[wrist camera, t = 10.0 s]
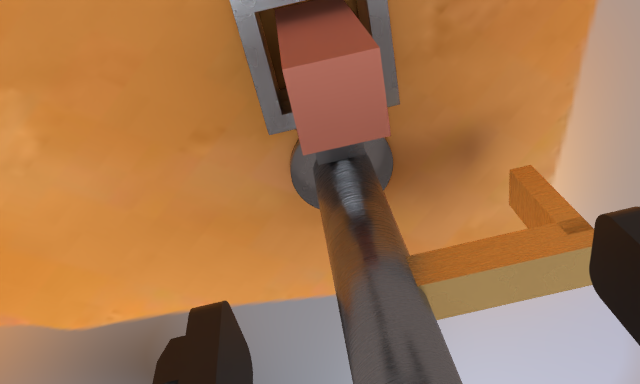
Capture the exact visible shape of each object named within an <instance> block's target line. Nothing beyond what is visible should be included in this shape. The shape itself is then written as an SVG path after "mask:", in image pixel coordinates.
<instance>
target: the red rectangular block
mask: <svg viewBox="0 0 640 384" xmlns="http://www.w3.org/2000/svg"><path fill="white" fill-rule="evenodd" d="M275 17H276V25H277V33H278V41H279V49H280V57H281V64H282V71H283V75H284V79H285V83H286V87H287V92H288V96H289V100H290V104H291V108H292V112H293V116H294V120H295V124H296V128H297V133H298V137H299V141H300V145H301V149H302V153H303V155H308V154H312V153H317V152H321V151H326V150H330V149H334V148H339V147H343V146H348V145H352V144H357V143H361V142H366V141H370V140H375V139H379V138H383V137H388V136H391V133H390V125H389V117H388V109H387V101H386V93H385V86H384V78H383V70H382V62H381V54H380V47H379V46H378V45H377V43H376V42H375V41H374V39H373V38H372V37H371V35H370V34H369V33H368V31H367V30H366V29H365V27H364V26H363V25H362V24H361V22H360V21H359V20H358V18H357V17H356V16H355V14H354V13H353V12H352V10H351V9H350V8H349V6H348V5H347V4H346V2H345V1H344V0H312V1H308V2H303V3H299V4H295V5H290V6H286V7H282V8H277V9H275Z"/></svg>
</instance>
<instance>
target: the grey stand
mask: <svg viewBox="0 0 640 384" xmlns="http://www.w3.org/2000/svg"><path fill="white" fill-rule="evenodd" d="M300 1H304V0H230V3H231V7H232V10H233V14H234V17H235V20H236V24H237V27H238V31H239V34H240V38H241V41H242V44H243V48H244V51H245V55H246V58H247V61H248V65H249V68H250V72H251V75H252V79H253V82H254V85H255V89H256V92H257V96H258V99H259V102H260V106H261V109H262V113H263V116H264V120H265V123H266V126H267V130H268V133H269V135H272V134H276V133H280V132H284V131H289V130H293V129H297V128H296V124H295V120H294V116H293V112H292V108H291V104H290V100H289V96H288V92H287V88H285V89H281V90H279V87H278V83H277V79H276V75H275V72H274V68H273V64H272V60H271V56H270V53H269V49H268V45H267V41H266V38H265V34H264V30H263V26H262V22H261V19H260V15H259V11H262V10H267V9H271V8H275V7H279V6H283V5H287V4H291V3H296V2H300ZM356 4H357V10H358V16H359V21H360V22H361V24H362V25H363V26H364V27H365V29H366V30H367V31H368V33H369V34H370V35H371V37H372V38H373V39H374V41H375V42H376V43H377V45H378V46H379V47H380V54H381V62H382V70H383V78H384V86H385V93H386V101H387V107H390V106H395V105H399V104H400V100H399V92H398V84H397V75H396V67H395V59H394V51H393V43H392V35H391V27H390V18H389V10H388V2H387V0H356ZM290 170H291V177H292V182H293V185H294V187H295V189H296V191H297V192H298V194H299V195H300V196H301V197H302V198H303V199H304V200H305V201H306V202H307V203H308V204H310V205H312V206H314V207H316V208H318V209H320V212H321V217H322V222H323V228H324V233H325V238H326V243H327V249H328V254H329V259H330V264H331V270H332V275H333V280H334V286H335V291H336V296H337V301H338V307H339V312H340V317H341V322H342V328H343V333H344V338H345V343H346V348H347V354H348V359H349V364H350V370H351V375H352V380H353V384H462V381H461V379H460V377H459V374H458V372H457V370H456V367H455V364H454V362H453V360H452V357H451V355H450V353H449V350H448V348H447V345H446V343H445V340H444V338H443V335H442V333H441V330H440V328H439V326H438V323H437V321H436V320H439V319H443V318H448V317H453V316H457V315H461V314H465V313H470V312H475V311H479V310H484V309H488V308H492V307H497V306H501V305H506V304H510V303H514V302H518V301H523V300H527V299H532V298H536V297H541V296H545V295H550V294H554V293H558V292H563V291H567V290H572V289H576V288H581V287H585V286H589V285H592V282H591V279H590V274H589V264H590V257H591V250H592V242H593V235H594V229H593V228H592V227H591V225H589V223H588V222H587V221H586V220H585V219H584V218H583V217H582V216H581V215H580V214H579V213H578V212H577V211H576V210H575V209H574V208H573V207H572V206H571V205H570V204H569V203H568V202H567V201H566V200H565V199H564V198H563V197H562V196H561V195H560V194H559V193H558V192H557V191H556V190H555V189H554V188H553V187H552V186H551V185H550V184H549V183H548V182H547V181H546V180H545V179H544V178H543V177H542V176H541V175H540V174H539V173H538V172H537V171H536V170H535V169H534V168H533V167H532V166H531V165H528V166H524V167H520V168H515V169H511V170H510V179H509V205H510V206H511V208H512V209H513V210H514V211H515V213H516V214H517V215H518V216H519V218H520V219H521V220H522V221H523V223H524V224H525V225H526V227H527V228H528V229H525V230H520V231H516V232H512V233H507V234H503V235H499V236H494V237H490V238H486V239H481V240H477V241H473V242H468V243H464V244H459V245H455V246H451V247H446V248H442V249H438V250H433V251H429V252H425V253H420V254H416V255H412V256H410V255H409V253H408V250H407V248H406V245H405V243H404V240H403V238H402V235H401V233H400V231H399V228H398V226H397V223H396V221H395V218H394V216H393V214H392V211H391V209H390V206H389V204H388V201H387V199H386V197H385V194H384V192H383V190H384V189H385V187H386V186H387V184H388V182H389V180H390V177H391V174H392V170H393V157H392V152H391V150H390V147H389V145H388V143H387V141H386V139H385V138H384V137H383V138H379V139H375V140H370V141H366V142H361V143H357V144H352V145H348V146H343V147H339V148H334V149H330V150H326V151H321V152H317V153H312V154H308V155H303V153H302V149H301V145H300V141H299V140H298V142H297V143H296V145H295V147H294V149H293V152H292V155H291V161H290Z"/></svg>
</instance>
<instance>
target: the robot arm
mask: <svg viewBox="0 0 640 384" xmlns="http://www.w3.org/2000/svg"><path fill="white" fill-rule="evenodd" d="M589 274H590V279H591V282H592V285H593V287H594V289H595V291H596V292H597V294H598V295H599V297H600V298H601V299H602V301H603V302H604V303H605V304H606V305H607V306H608V308H609V309H610V310H611V311H612V313H613V314H614V315H615V316H616V317H617V319H618V320H619V321H620V322H621V324H622V325H623V326H624V327H625V328H626V330H627V331H628V332H629V333H630V334H631V336H632V337H633V338H634V339H635V340H636V342H637V343H638V344H639V345H640V207H632V208H628V209H623V210H619V211H615V212H610V213H606V214H602V215H600V216H598V218H597V219H596V222H595V228H594V235H593V242H592V250H591V257H590V264H589ZM153 384H253V371H252V361H251V356H250V352H249V348H248V346H247V343H246V341H245V338H244V336H243V334H242V332H241V330H240V327H239V325H238V323H237V321H236V318H235V316H234V314H233V312H232V309H231V307H230V305H229V303H228V302H227V301H222V302H218V303H213V304H209V305H205V306H200V307H196V308H192V309H191V310H190V313H189V317H188V324H187V330H186V336H181V337H177V338H173V339H171V340H170V341H169V343H168V345H167V346H166V348H165V350H164V351H163V353H162V354H161V356H160V358H159V360H158V361H157V365H156V370H155V374H154V379H153Z"/></svg>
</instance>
